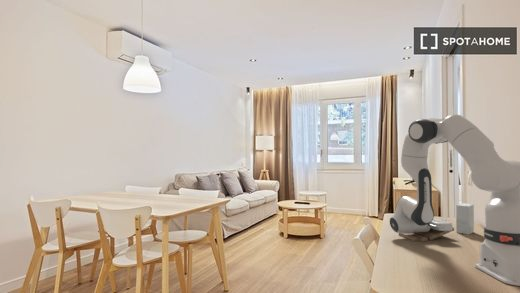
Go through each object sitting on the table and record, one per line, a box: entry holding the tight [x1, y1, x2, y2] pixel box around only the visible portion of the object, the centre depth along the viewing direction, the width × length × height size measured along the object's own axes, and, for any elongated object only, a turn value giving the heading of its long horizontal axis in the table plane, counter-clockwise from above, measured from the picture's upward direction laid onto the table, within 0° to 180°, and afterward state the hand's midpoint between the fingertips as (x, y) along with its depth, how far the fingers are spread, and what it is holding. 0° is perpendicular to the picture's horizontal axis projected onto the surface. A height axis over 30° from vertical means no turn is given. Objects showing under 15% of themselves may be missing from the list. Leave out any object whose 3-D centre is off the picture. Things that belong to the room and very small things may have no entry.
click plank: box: [414, 226, 455, 241], centre depth 154 cm, size 2×12×14 cm
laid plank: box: [398, 232, 429, 243], centre depth 151 cm, size 7×12×2 cm, turn 12°
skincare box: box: [455, 202, 475, 236], centre depth 161 cm, size 8×6×15 cm
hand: (445, 221), depth 155 cm, fingers closed
